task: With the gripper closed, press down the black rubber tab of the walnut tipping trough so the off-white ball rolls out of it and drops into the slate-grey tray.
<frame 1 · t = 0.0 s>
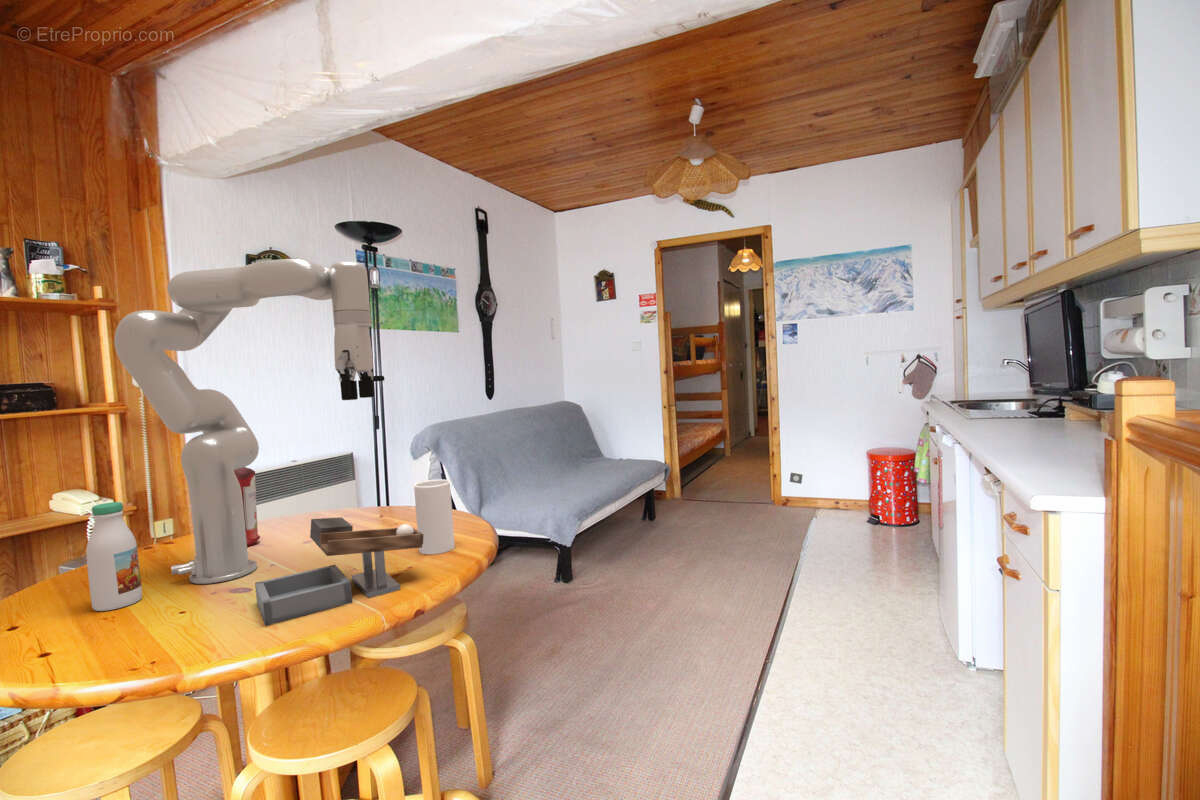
hand: (358, 398, 128), 37 cm above the table, tool pointing down, fingers open, 9 cm apart
ball: (405, 532, 121), point 9 cm above the table, tilted 17°, touching trough
pivot stand: (375, 584, 118), on the table
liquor: (245, 545, 153), on the table
trough: (366, 533, 121), point 9 cm above the table, hinge at -8.0°, touching ball
milk bottle: (118, 605, 115), on the table
tray: (304, 602, 110), on the table
cup: (437, 549, 140), on the table
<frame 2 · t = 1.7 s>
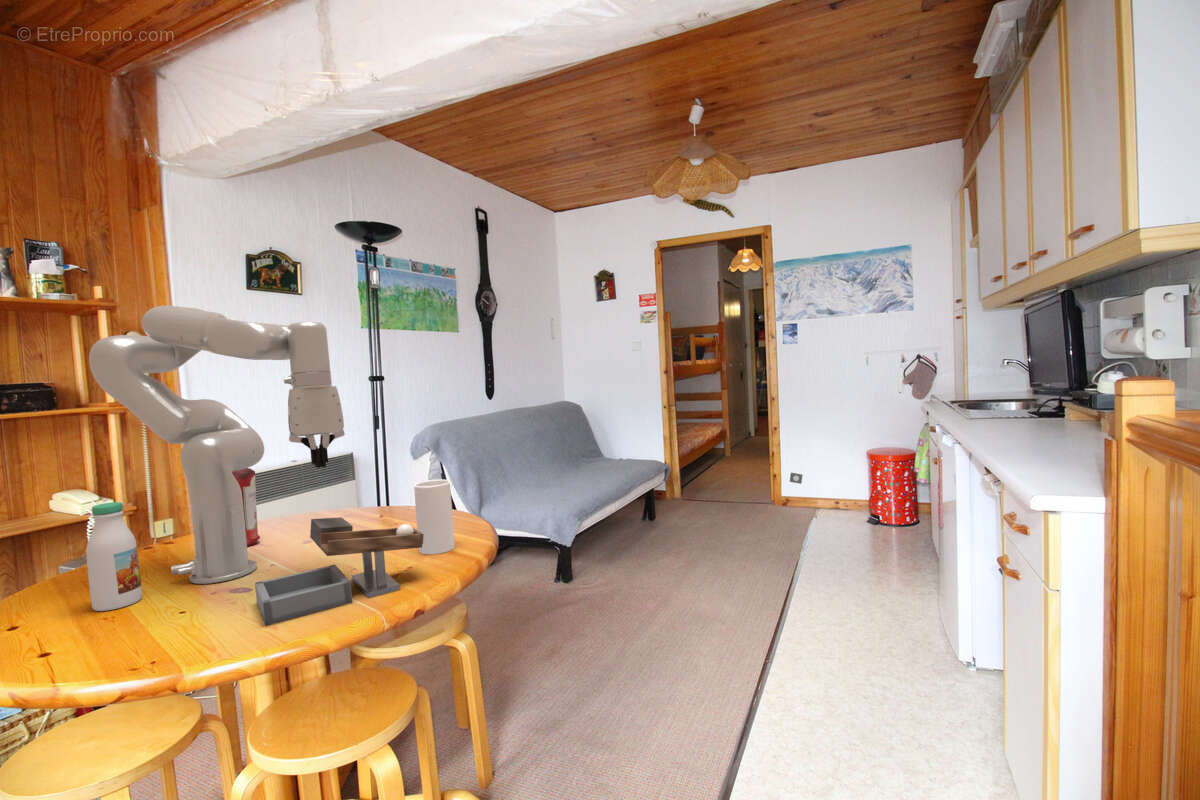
hand: (320, 466, 125), 23 cm above the table, tool pointing down, fingers closed
nothing on the table moved.
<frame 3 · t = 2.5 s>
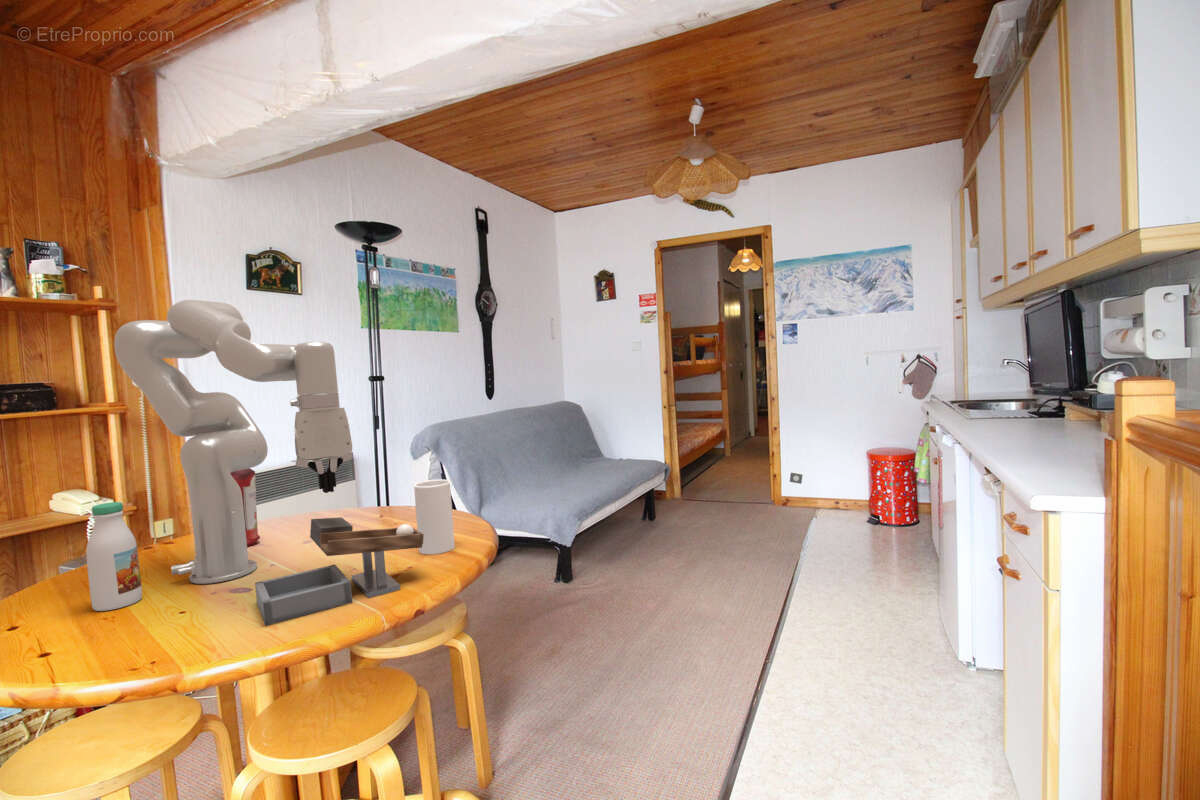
hand: (328, 491, 120), 19 cm above the table, tool pointing down, fingers closed
nothing on the table moved.
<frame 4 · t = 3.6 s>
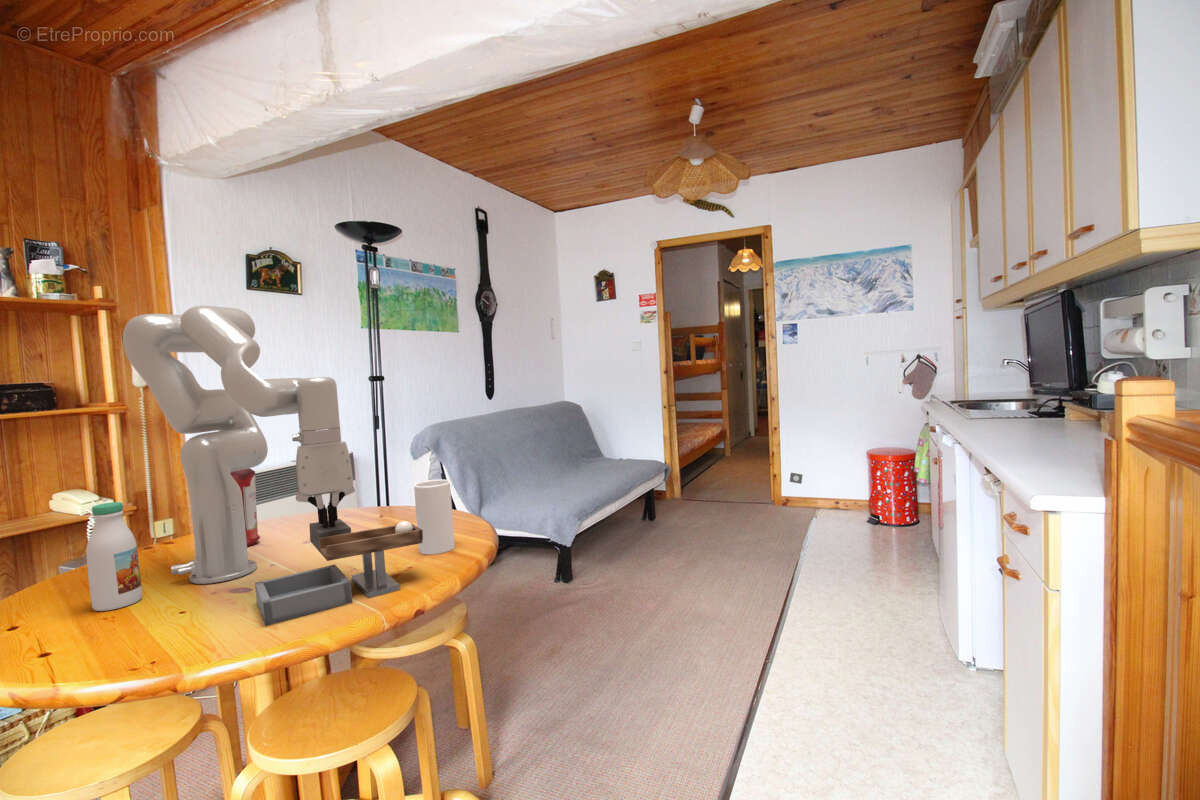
hand: (328, 525, 121), 12 cm above the table, tool pointing down, fingers closed
ball: (404, 529, 121), point 10 cm above the table, tilted 11°, touching trough
trough: (365, 533, 121), point 9 cm above the table, hinge at -2.1°, touching ball, gripper
everything else where it was.
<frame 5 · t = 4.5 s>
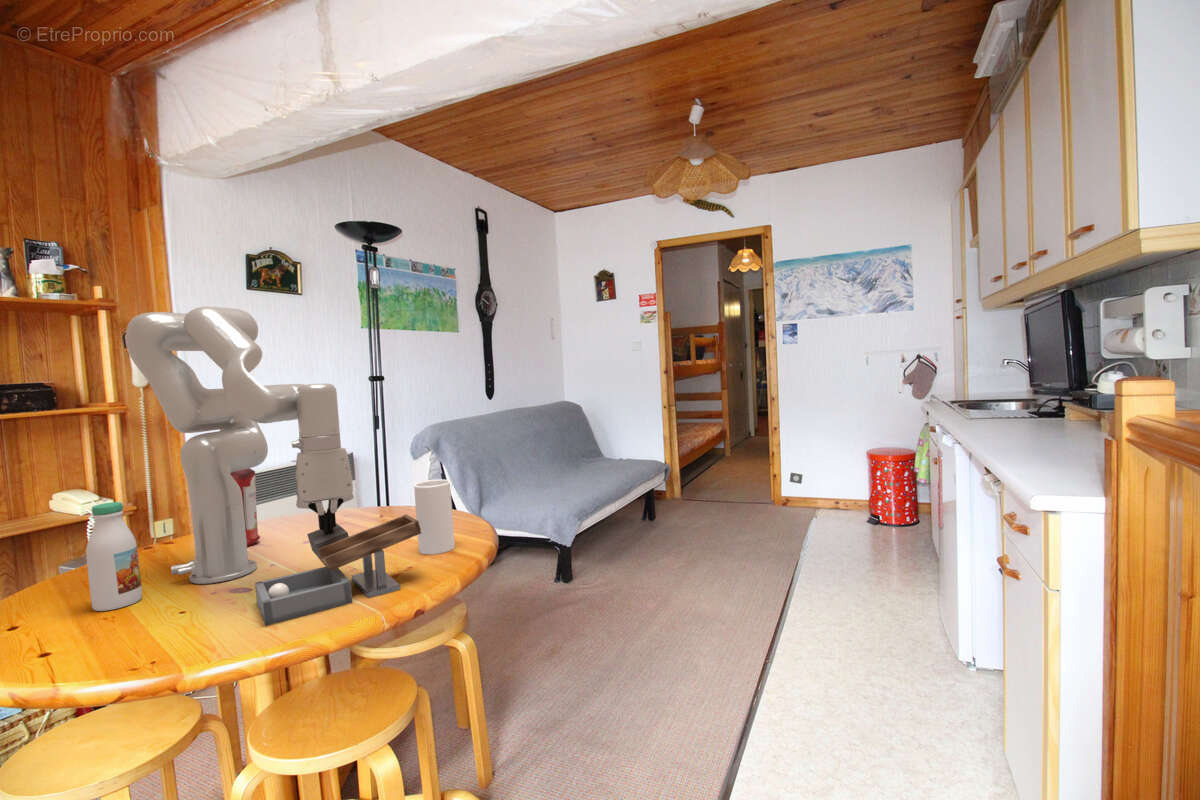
hand: (328, 531, 121), 10 cm above the table, tool pointing down, fingers closed
ball: (278, 593, 108), point 3 cm above the table, tilted 69°
trough: (363, 533, 121), point 9 cm above the table, hinge at 11.0°, touching gripper
everything else where it was.
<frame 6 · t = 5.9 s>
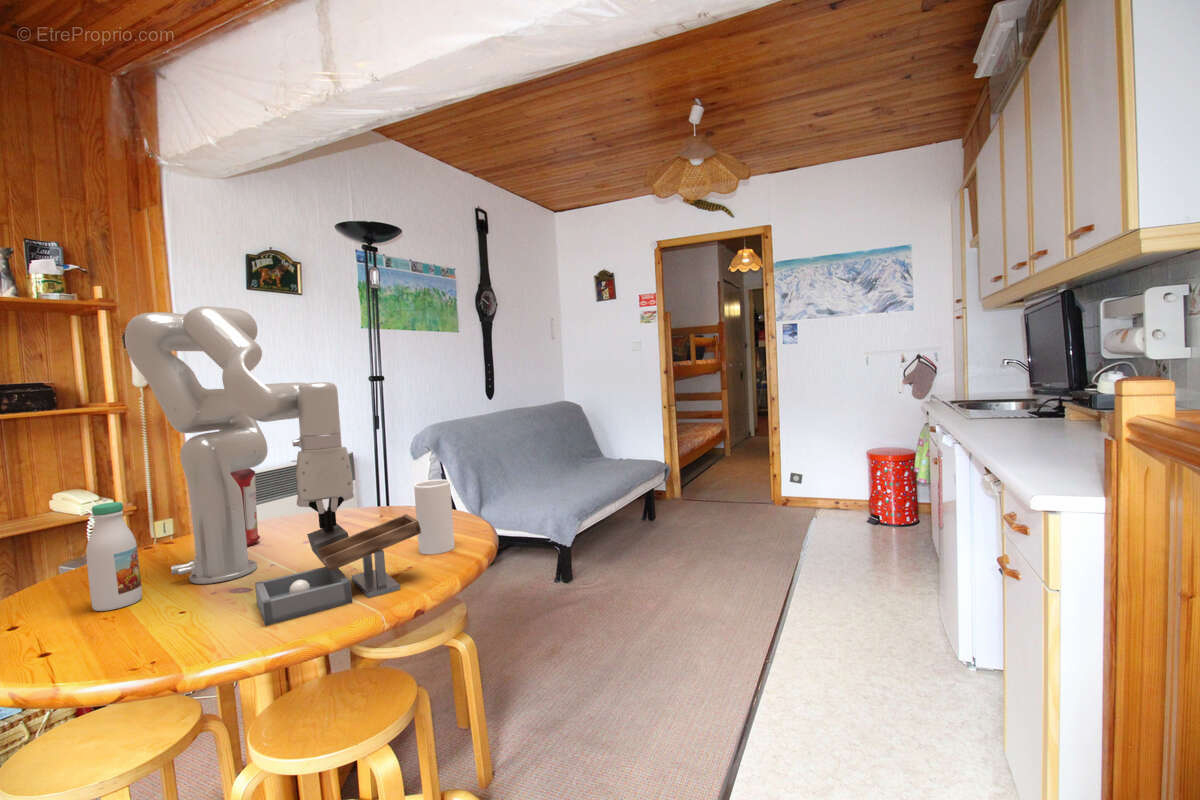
hand: (328, 530, 121), 11 cm above the table, tool pointing down, fingers closed
ball: (299, 589, 110), point 3 cm above the table, tilted 5°, touching tray
trough: (363, 533, 121), point 9 cm above the table, hinge at 11.3°
everything else where it was.
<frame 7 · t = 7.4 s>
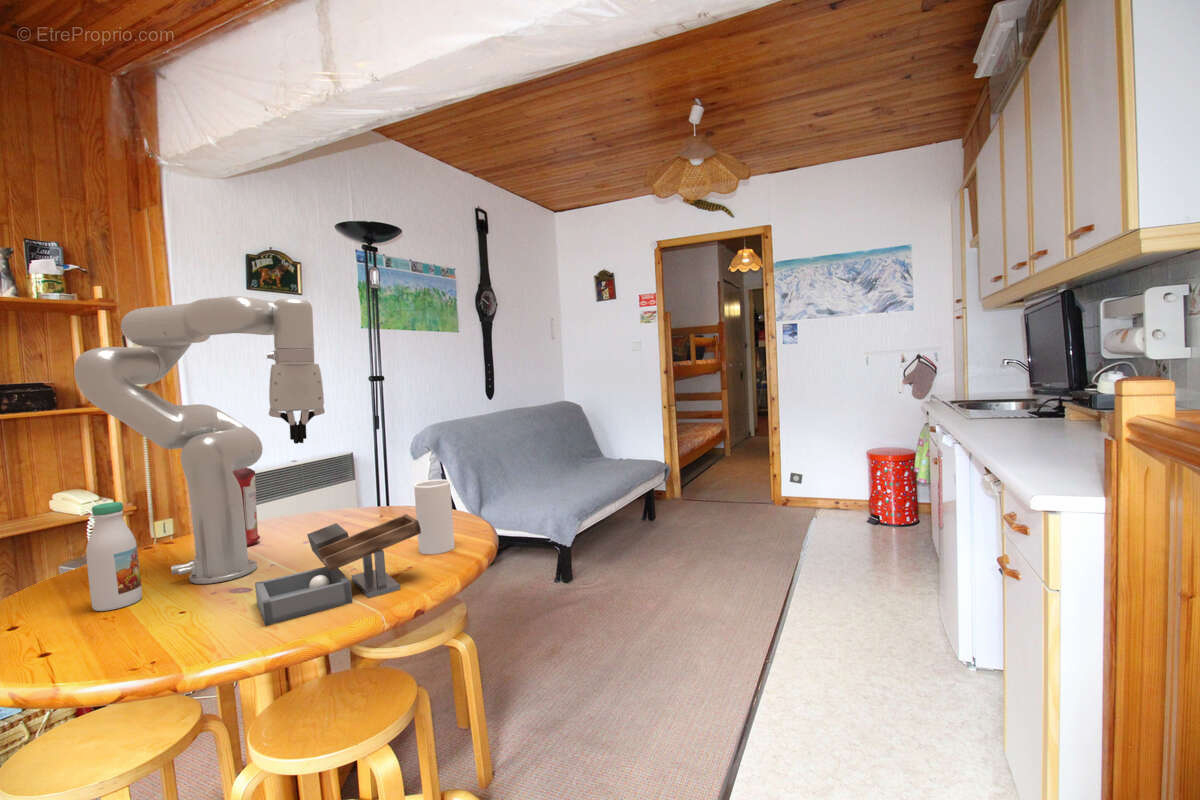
hand: (298, 442, 126), 29 cm above the table, tool pointing down, fingers closed
ball: (319, 584, 112), point 3 cm above the table, tilted 116°, touching tray
everything else where it was.
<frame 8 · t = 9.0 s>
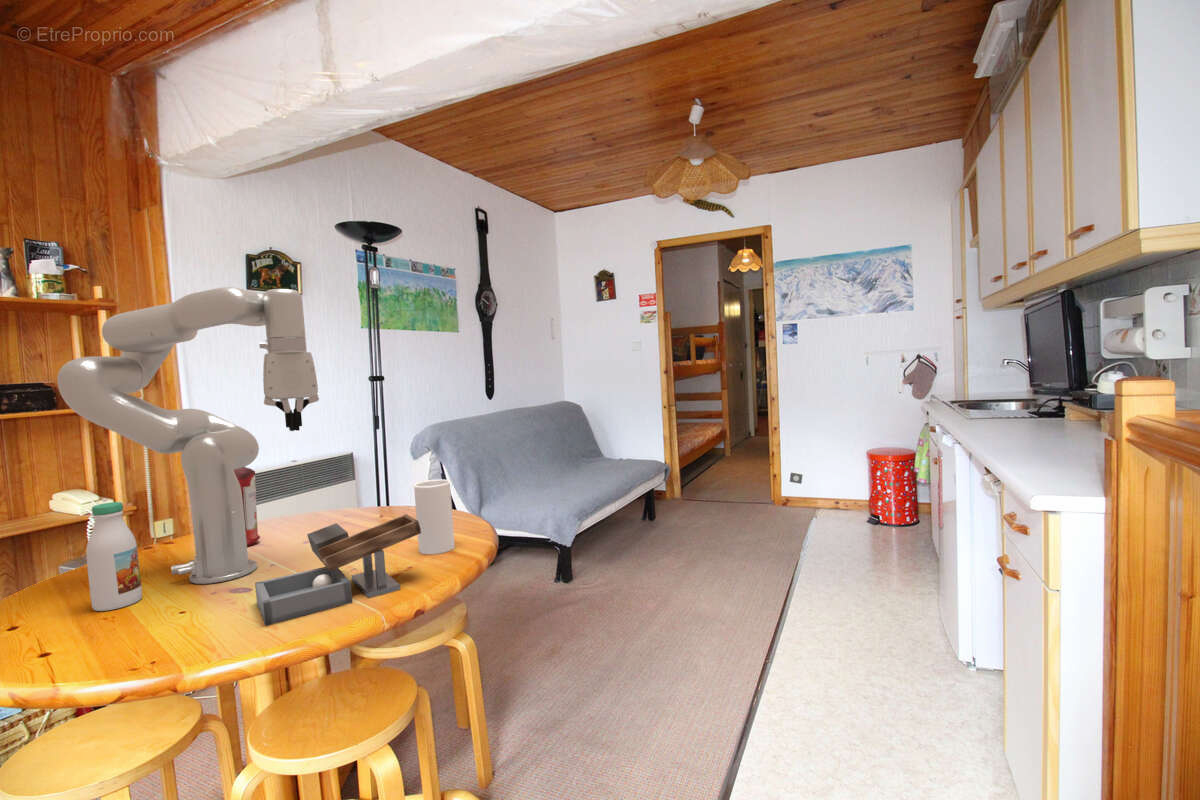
hand: (294, 430, 128), 31 cm above the table, tool pointing down, fingers closed
ball: (322, 583, 112), point 3 cm above the table, tilted 135°, touching tray
everything else where it was.
at the end: ball inside the target area on the tray (3.4 cm from its centre), point 2.7 cm above the tray's base; trough at +11° (first picture: -8°) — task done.
